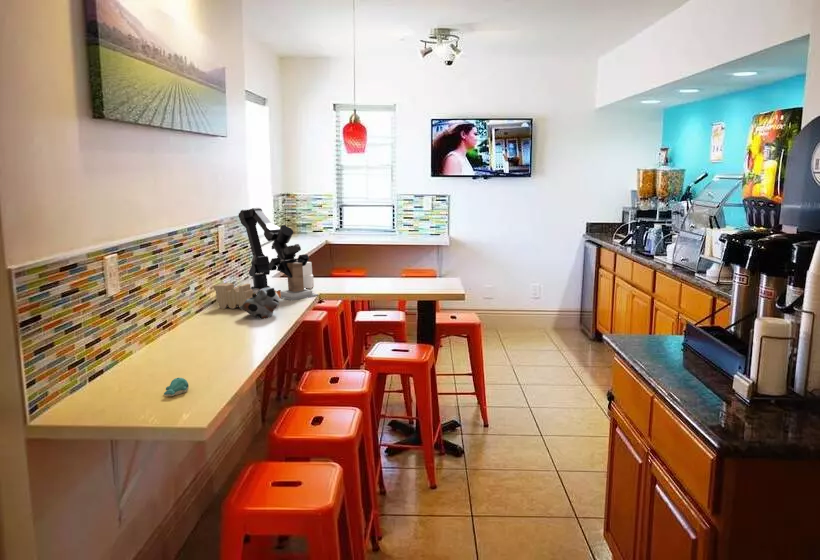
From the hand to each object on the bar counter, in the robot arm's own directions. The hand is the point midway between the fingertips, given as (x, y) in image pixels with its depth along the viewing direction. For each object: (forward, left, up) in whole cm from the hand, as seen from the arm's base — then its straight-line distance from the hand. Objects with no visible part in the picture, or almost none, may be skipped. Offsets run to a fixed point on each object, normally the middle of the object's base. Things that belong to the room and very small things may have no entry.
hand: (296, 276), depth 287 cm
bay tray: (-1, 0, -9) cm, 9 cm away
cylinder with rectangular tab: (-13, +18, -9) cm, 24 cm away
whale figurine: (+62, -110, -10) cm, 127 cm away
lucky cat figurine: (+15, -36, -9) cm, 40 cm away
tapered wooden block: (-1, 0, -7) cm, 7 cm away
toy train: (-7, -30, -9) cm, 32 cm away
